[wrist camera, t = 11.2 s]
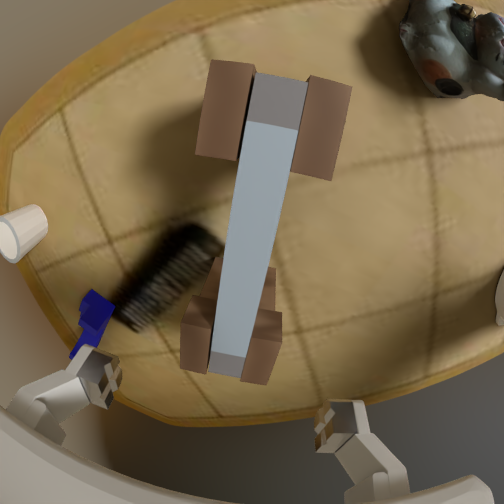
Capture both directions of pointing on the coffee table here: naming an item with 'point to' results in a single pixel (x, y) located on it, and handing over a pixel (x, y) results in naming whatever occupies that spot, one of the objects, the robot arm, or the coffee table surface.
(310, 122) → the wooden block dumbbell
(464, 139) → the coffee table surface
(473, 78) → the lucky cat figurine
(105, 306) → the cable clip
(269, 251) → the bed rail
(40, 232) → the shot glass
